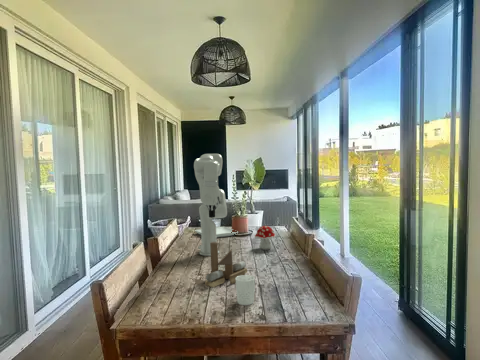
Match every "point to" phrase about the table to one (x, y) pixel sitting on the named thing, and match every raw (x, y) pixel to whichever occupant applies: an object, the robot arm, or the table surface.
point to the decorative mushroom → (265, 237)
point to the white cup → (245, 289)
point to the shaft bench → (216, 276)
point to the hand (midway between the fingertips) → (212, 217)
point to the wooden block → (225, 261)
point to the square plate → (220, 232)
